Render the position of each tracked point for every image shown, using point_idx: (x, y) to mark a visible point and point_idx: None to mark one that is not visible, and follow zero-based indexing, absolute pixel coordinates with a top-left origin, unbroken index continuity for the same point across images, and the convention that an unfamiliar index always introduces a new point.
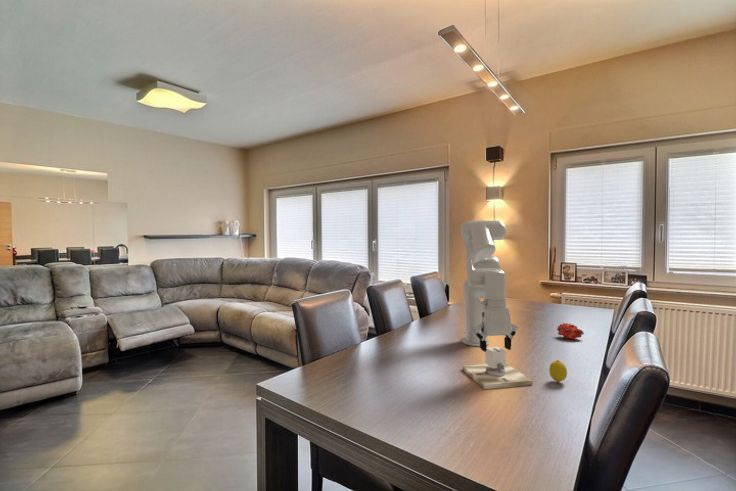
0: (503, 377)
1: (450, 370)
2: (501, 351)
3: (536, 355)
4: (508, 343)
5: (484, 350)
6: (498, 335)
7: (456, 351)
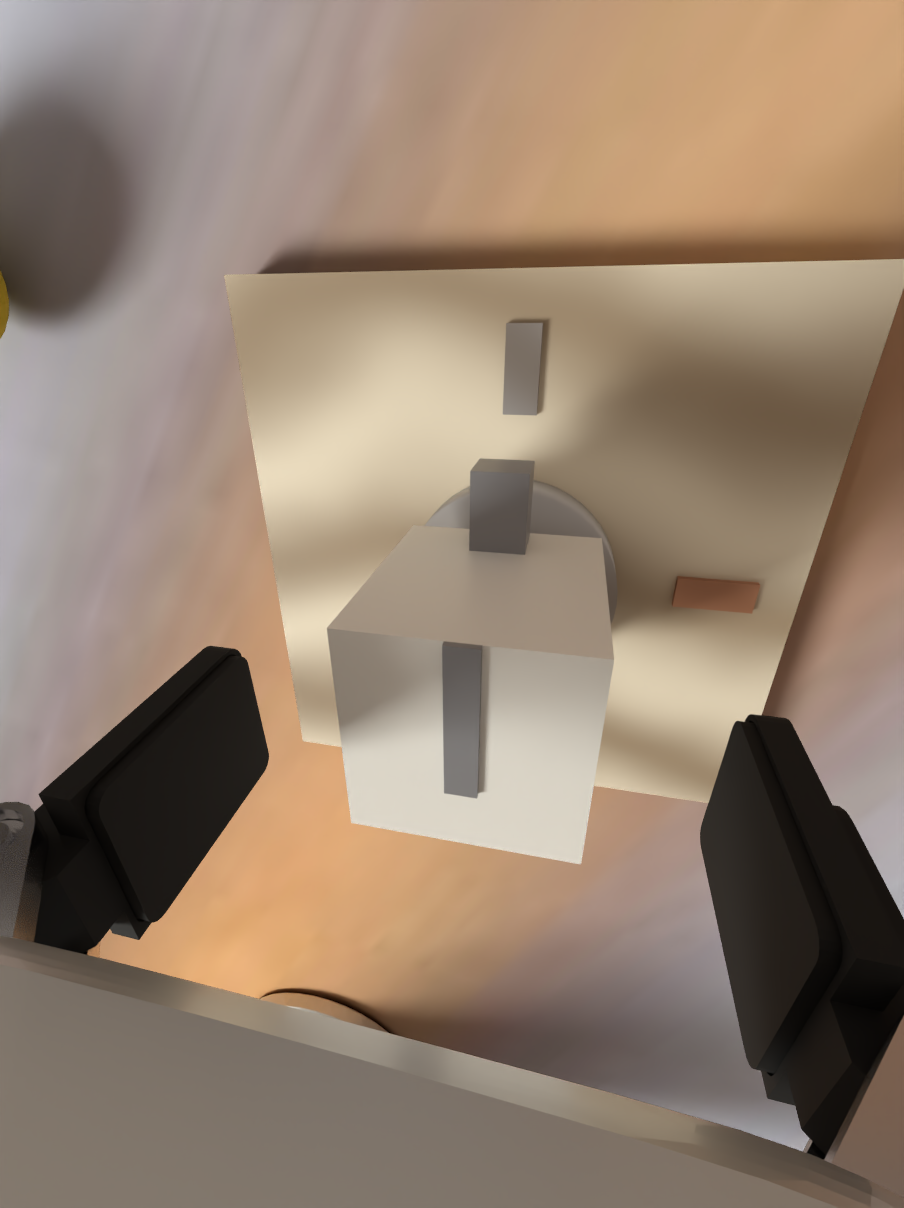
0: (500, 440)
1: (850, 801)
2: (409, 640)
3: (30, 784)
4: (169, 741)
5: (790, 739)
6: (353, 1028)
7: (528, 1010)
